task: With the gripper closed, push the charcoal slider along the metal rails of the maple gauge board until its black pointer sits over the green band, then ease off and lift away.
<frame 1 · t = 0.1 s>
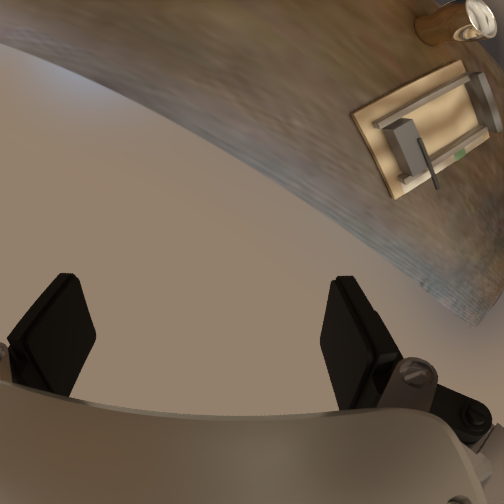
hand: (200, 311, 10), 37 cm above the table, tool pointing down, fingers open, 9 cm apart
gauge board: (428, 123, 41), on the table
slider: (412, 157, 40), point 4 cm above the table, slide at 0.0 cm
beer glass: (427, 30, 34), on the table
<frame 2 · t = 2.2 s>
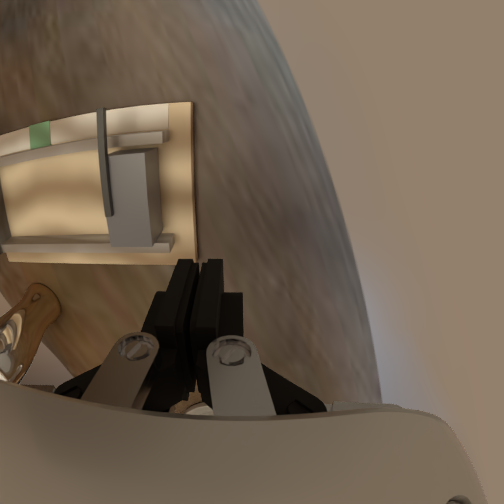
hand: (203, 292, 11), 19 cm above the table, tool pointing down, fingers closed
gauge board: (78, 190, 28), on the table
slider: (130, 174, 24), point 4 cm above the table, slide at 0.0 cm
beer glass: (44, 300, 34), on the table
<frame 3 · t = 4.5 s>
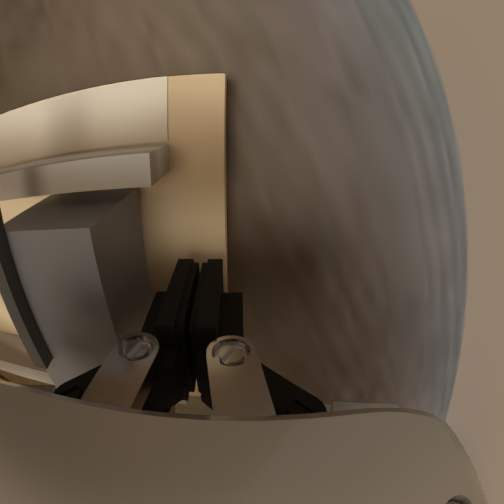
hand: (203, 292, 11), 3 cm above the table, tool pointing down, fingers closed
gauge board: (10, 260, 13), on the table
slider: (73, 265, 9), point 4 cm above the table, slide at 0.2 cm, touching gripper
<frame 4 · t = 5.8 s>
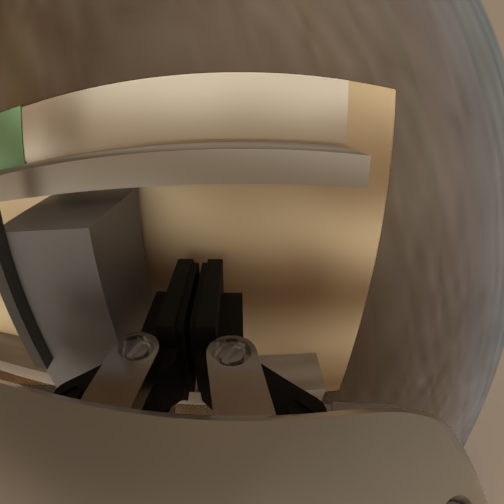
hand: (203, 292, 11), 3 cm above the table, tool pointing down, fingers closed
gauge board: (95, 261, 13), on the table
slider: (72, 265, 9), point 4 cm above the table, slide at 6.6 cm, touching gripper
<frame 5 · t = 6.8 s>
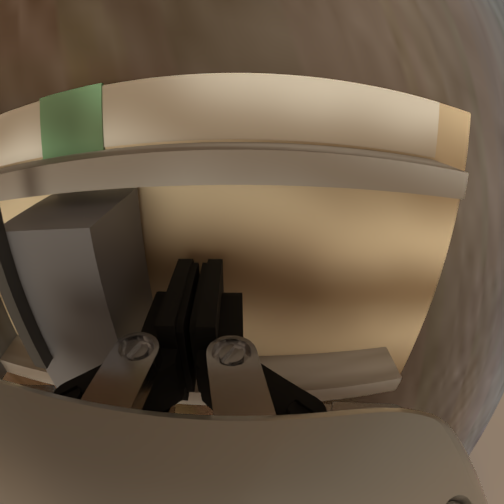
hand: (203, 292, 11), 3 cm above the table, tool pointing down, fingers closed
gauge board: (173, 262, 14), on the table
slider: (73, 265, 9), point 4 cm above the table, slide at 10.7 cm, touching gripper
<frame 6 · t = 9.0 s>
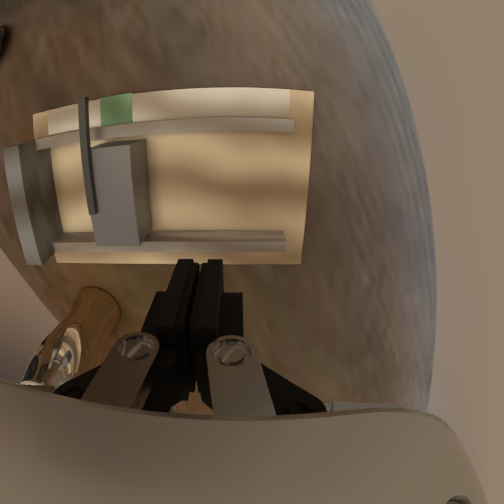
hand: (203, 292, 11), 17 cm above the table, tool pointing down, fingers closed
gauge board: (162, 178, 26), on the table
slider: (115, 168, 21), point 4 cm above the table, slide at 10.8 cm
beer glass: (98, 306, 33), on the table
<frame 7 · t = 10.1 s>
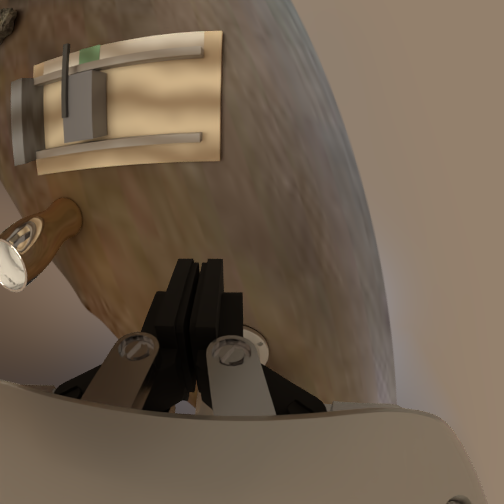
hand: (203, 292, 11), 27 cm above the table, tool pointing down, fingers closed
gauge board: (117, 102, 31), on the table
slider: (83, 90, 26), point 4 cm above the table, slide at 10.8 cm
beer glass: (66, 216, 38), on the table
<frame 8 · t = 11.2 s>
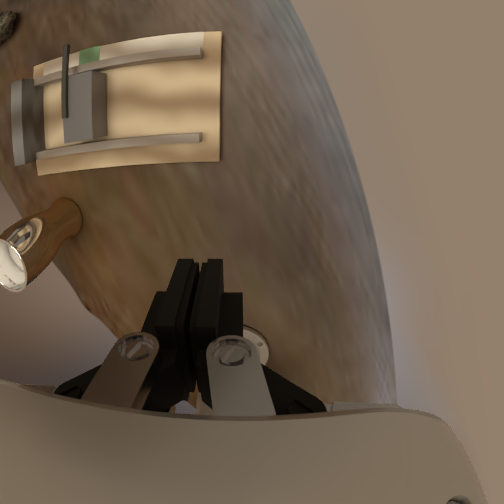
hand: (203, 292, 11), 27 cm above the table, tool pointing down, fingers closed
gauge board: (117, 103, 31), on the table
slider: (83, 90, 27), point 4 cm above the table, slide at 10.8 cm
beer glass: (66, 217, 38), on the table
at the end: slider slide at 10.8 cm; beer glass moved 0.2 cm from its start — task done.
